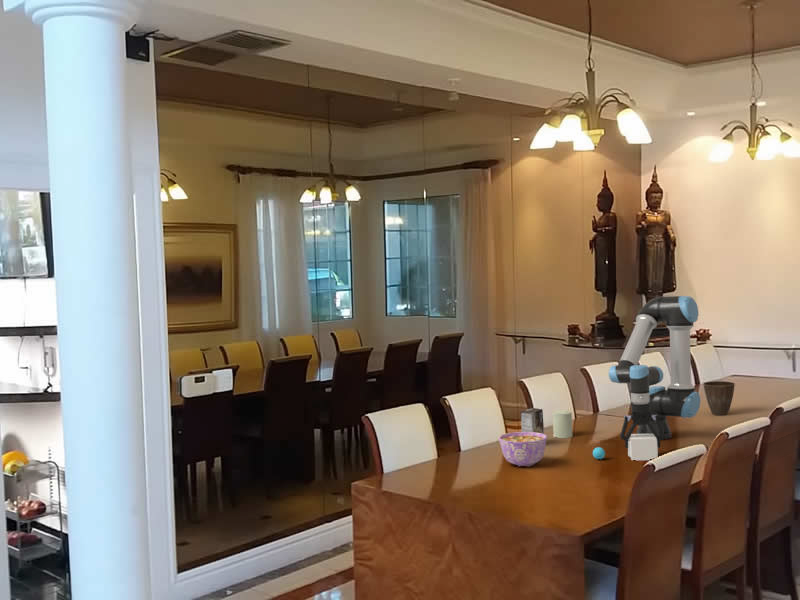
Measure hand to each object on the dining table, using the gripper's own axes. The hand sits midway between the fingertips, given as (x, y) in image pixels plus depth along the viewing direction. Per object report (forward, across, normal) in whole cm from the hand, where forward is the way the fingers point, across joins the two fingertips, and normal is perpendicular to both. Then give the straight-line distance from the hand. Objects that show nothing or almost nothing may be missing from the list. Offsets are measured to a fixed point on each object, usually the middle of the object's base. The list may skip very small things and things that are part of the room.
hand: (642, 455), depth 336 cm
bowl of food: (+1, -49, -8) cm, 50 cm away
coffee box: (+1, -45, +28) cm, 53 cm away
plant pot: (+1, +50, +88) cm, 101 cm away
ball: (-2, -18, -2) cm, 18 cm away
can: (+1, -31, +45) cm, 55 cm away
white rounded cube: (+1, 0, 0) cm, 1 cm away
